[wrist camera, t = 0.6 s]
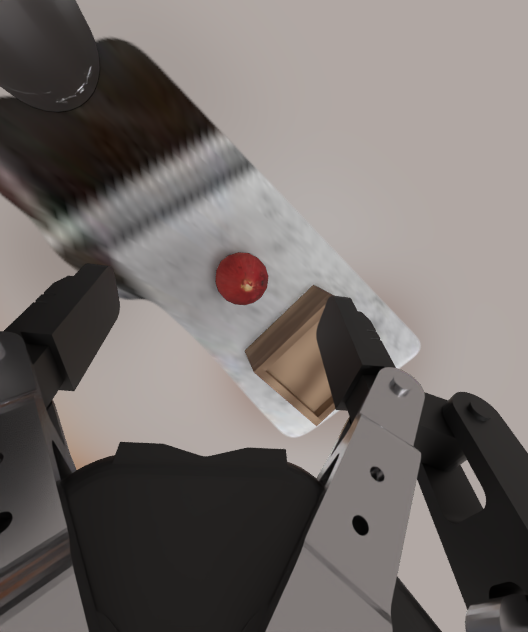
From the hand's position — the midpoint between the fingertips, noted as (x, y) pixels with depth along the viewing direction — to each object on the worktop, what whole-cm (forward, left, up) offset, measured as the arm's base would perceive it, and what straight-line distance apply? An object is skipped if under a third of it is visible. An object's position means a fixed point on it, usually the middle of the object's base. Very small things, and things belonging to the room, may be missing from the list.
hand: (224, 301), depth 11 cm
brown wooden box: (+20, +1, -24) cm, 31 cm away
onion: (+5, +1, -24) cm, 24 cm away
